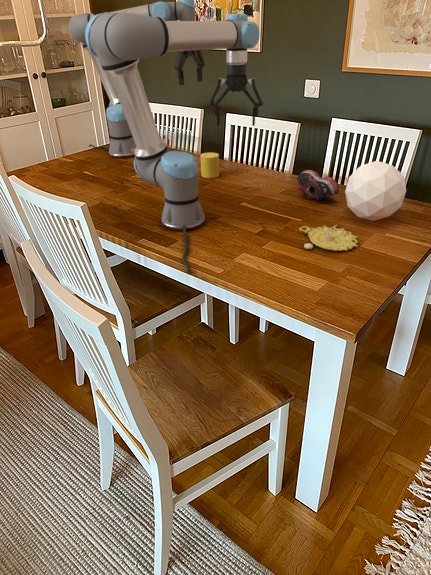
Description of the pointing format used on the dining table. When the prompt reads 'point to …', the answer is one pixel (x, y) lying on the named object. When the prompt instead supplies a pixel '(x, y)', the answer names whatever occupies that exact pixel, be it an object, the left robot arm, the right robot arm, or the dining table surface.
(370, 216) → the sphere
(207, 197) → the dining table surface
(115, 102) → the left robot arm
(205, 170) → the can
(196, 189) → the right robot arm
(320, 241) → the decorative object
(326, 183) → the athletic shoe
